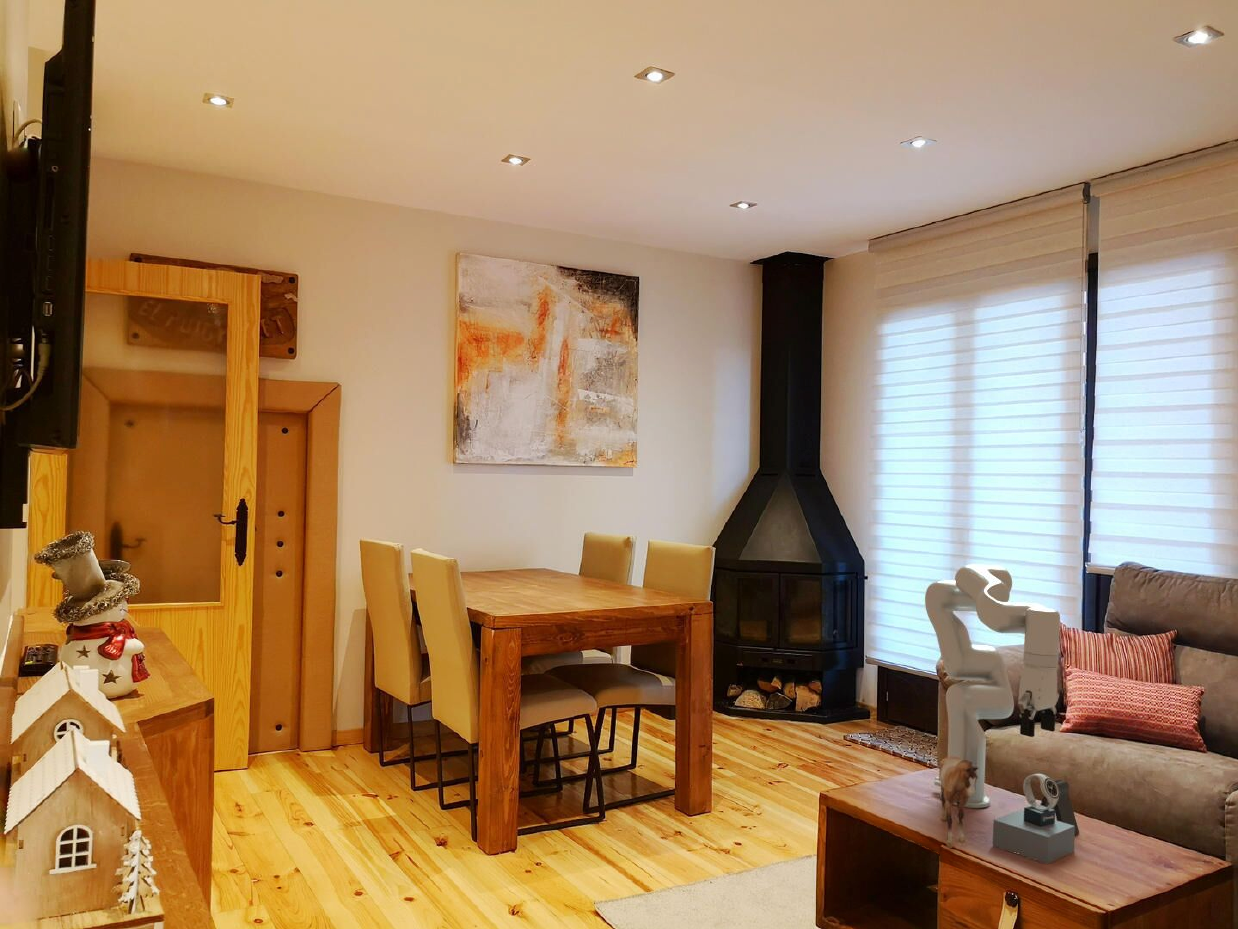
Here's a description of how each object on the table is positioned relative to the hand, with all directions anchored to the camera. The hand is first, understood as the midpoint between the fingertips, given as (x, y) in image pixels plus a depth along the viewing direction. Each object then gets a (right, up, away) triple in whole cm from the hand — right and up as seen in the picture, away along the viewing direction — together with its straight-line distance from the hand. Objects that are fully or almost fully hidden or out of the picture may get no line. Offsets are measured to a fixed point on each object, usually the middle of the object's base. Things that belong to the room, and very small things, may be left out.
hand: (1037, 733), depth 223 cm
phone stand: (+9, -28, +11) cm, 31 cm away
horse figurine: (-15, -26, +5) cm, 31 cm away
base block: (-2, -26, -3) cm, 27 cm away
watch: (0, -21, -2) cm, 21 cm away
